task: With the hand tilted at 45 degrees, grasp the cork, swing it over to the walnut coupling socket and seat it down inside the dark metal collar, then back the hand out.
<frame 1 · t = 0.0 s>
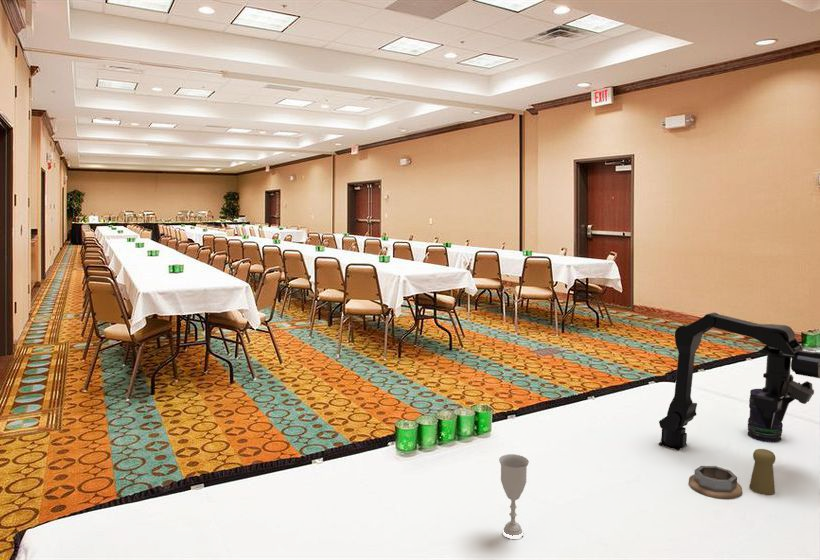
hand: (774, 424, 169), 15 cm above the table, tool pointing down, fingers open, 9 cm apart
chalice: (512, 534, 141), on the table
coupling socket: (714, 487, 163), on the table
storage jar: (764, 437, 198), on the table
cork: (761, 490, 162), on the table
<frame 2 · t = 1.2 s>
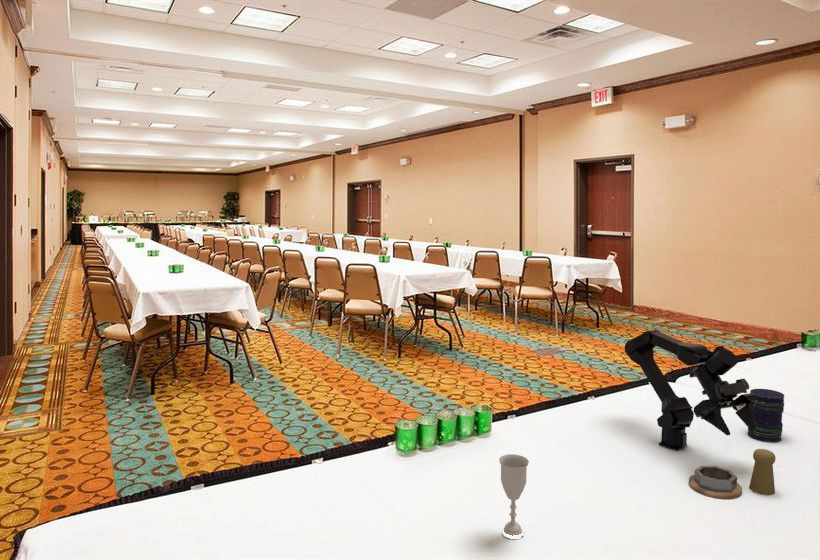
hand: (741, 432, 167), 13 cm above the table, tool tilted 45°, fingers open, 9 cm apart
nothing on the table moved.
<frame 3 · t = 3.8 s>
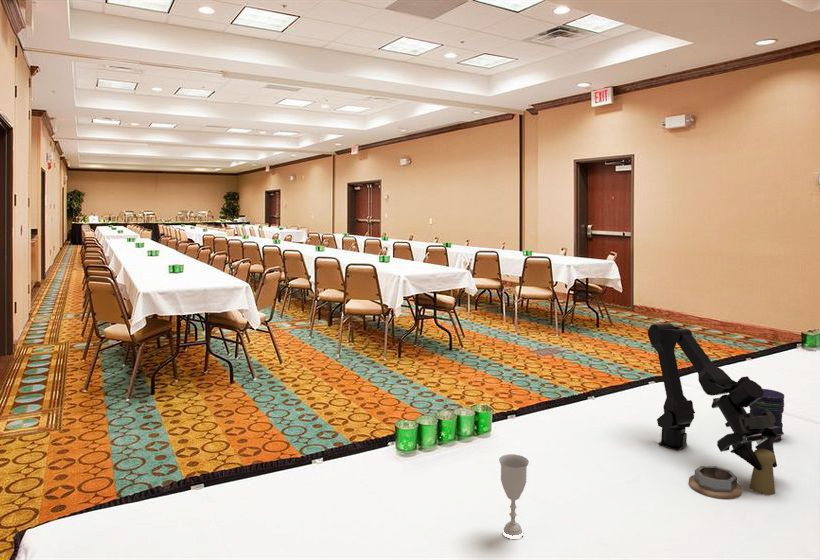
hand: (768, 468, 160), 7 cm above the table, tool tilted 45°, fingers closed on cork, 5 cm apart
cork: (761, 490, 162), on the table, touching gripper
everything else where it was.
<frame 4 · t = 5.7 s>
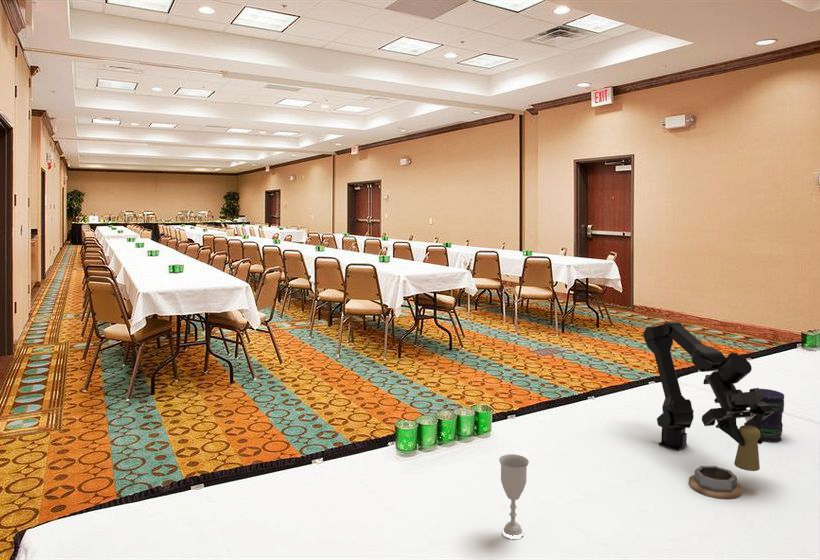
hand: (752, 444, 159), 13 cm above the table, tool tilted 45°, fingers closed on cork, 5 cm apart
cork: (746, 466, 161), point 6 cm above the table, touching gripper
everything else where it was.
when the fingers open (8 cm above the table, at t = 7.9 s): cork stays where it is, resting on coupling socket.
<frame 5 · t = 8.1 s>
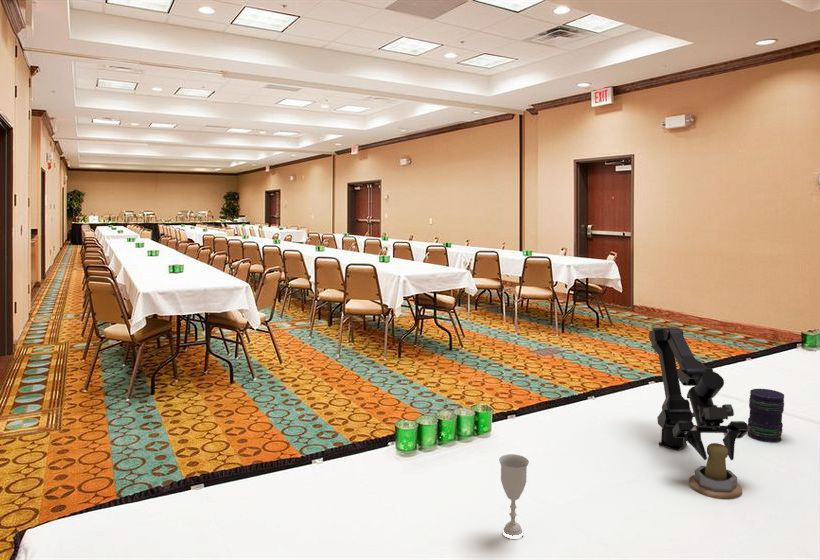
hand: (719, 459, 161), 9 cm above the table, tool tilted 45°, fingers open, 7 cm apart
cork: (714, 484, 163), point 1 cm above the table, touching coupling socket
everything else where it was.
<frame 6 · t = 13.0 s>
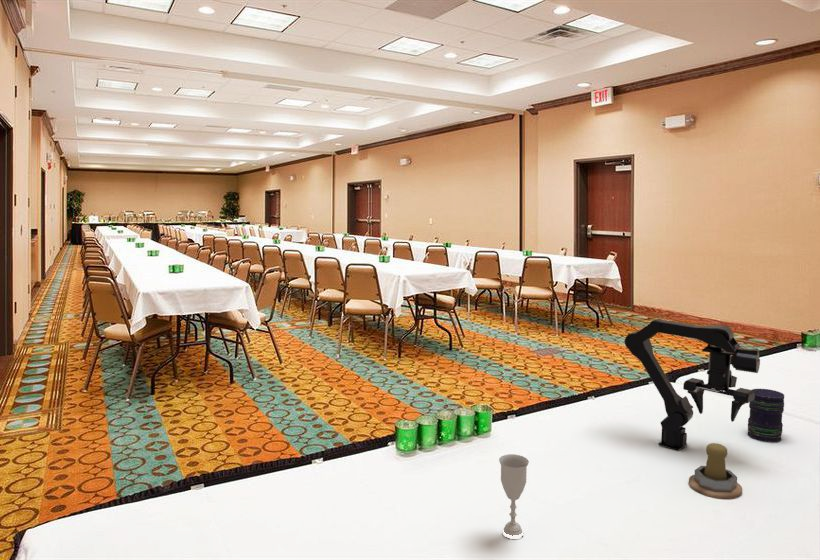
hand: (716, 417, 183), 12 cm above the table, tool pointing down, fingers open, 9 cm apart
nothing on the table moved.
at the end: cork 0.1 cm off-centre on the coupling socket, point 0.8 cm above the coupling socket's base; cork tilted 0°; the gripper is holding nothing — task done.
